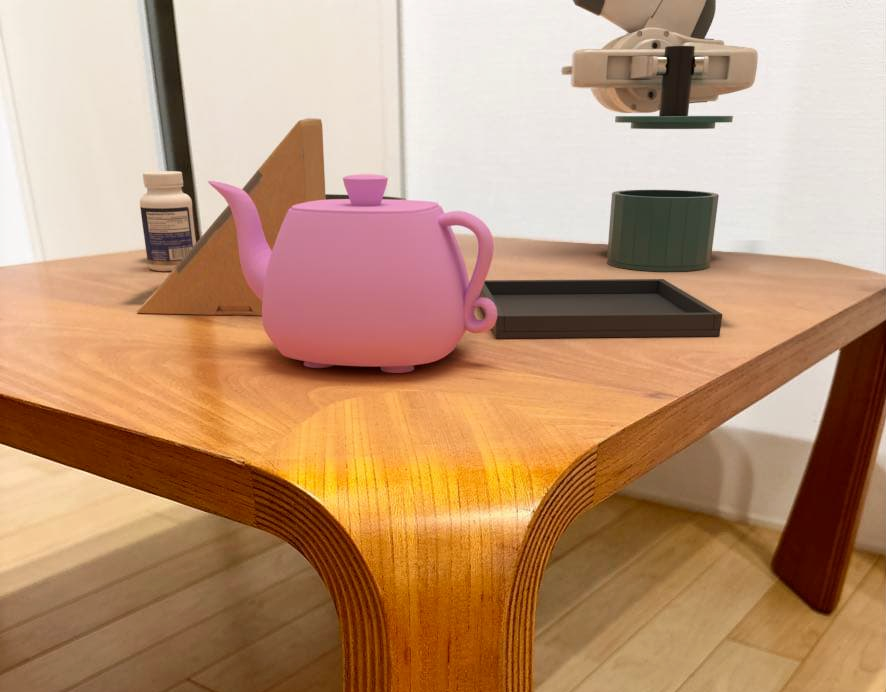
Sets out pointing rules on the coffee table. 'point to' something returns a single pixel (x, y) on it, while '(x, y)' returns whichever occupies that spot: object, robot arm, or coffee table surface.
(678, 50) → the tin lid
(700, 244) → the dark green cylinder
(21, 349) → the coffee table surface
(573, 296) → the lid tray
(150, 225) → the pill bottle
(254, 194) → the sandwich container
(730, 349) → the coffee table surface
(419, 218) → the teapot
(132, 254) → the coffee table surface
